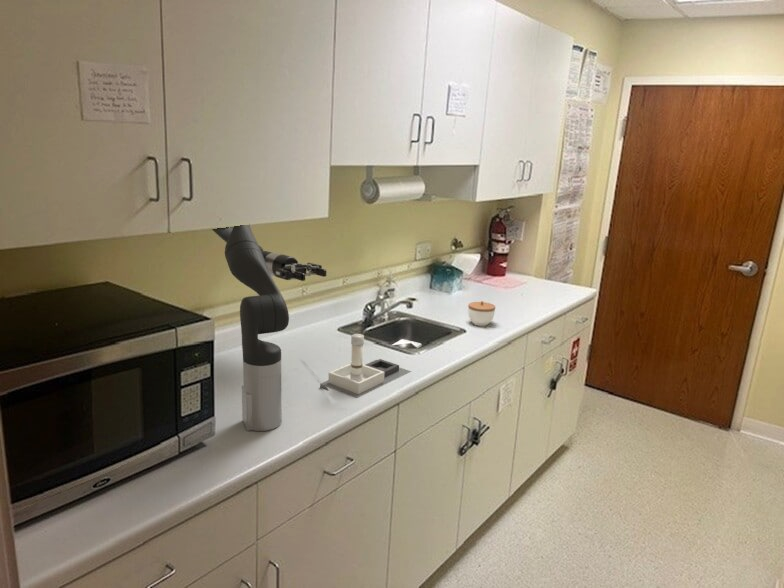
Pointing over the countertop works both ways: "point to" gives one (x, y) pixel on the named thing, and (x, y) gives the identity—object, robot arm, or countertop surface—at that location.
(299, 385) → the countertop surface
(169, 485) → the countertop surface
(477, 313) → the lidded jar
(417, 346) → the hard drive
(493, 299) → the countertop surface
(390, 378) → the grey board with tray
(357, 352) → the white capped peg
